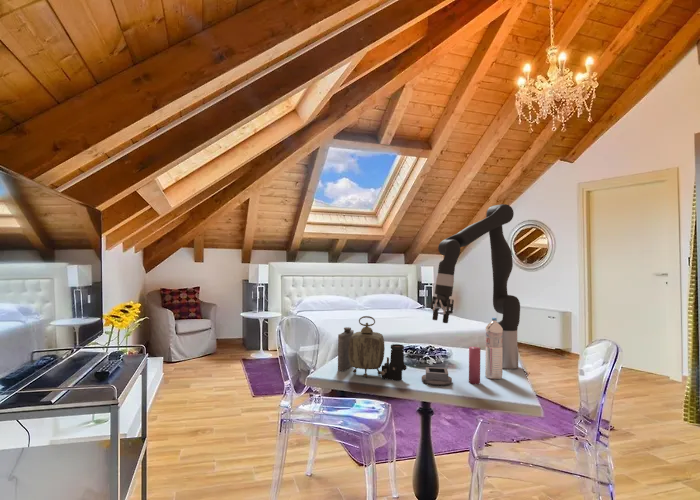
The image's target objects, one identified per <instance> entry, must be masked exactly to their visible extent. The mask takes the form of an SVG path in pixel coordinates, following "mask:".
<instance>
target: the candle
mask: <svg viewBox="0 0 700 500" xmlns="http://www.w3.org/2000/svg"><path fill="white" fill-rule="evenodd" d="M468 383H469V384H472V385H480V384H481V347H479V346H469V347H468Z"/></svg>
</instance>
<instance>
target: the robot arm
mask: <svg viewBox="0 0 700 500" xmlns="http://www.w3.org/2000/svg"><path fill="white" fill-rule="evenodd" d="M514 214H515V213H514V209H513V207H512V206H510V205H509V204H505V203H503V204H502V203H501V204H497V205H491V206H490V207H488V208H487V211H486V214H485V215H486V217H485V218H483V219H481V220H479V221H477V222H474V223H472V224H470V225H467V226H466V227H465V228H463V229H461V230H460V231H459V232H457V233H455V234H453V235H451V236H449V237H446V238H445V239H443V240H442V241H440V243H439V244H438V247H437V250H438V252H439V254H441V255H442V256H444V257H443V259H442V260H441V261H439V262H438V263H439V264H438V267H437V268H438V269H437V276H436V280H435V287H434V294H435V295H436V296H433V295H432V297H431V304H430V310H431V311H432V312H433V313H432V320H433V321H438V317H439V311H440V310H442V311H443V316H442V324H448V323H449V319H450V318H449V317H450V315H452V314H453V312H454V303H455V301H454V299H452V298H450V297H452V296H453V291H454V290H453V289H454V284H455V283H454V282H455V272H456V270H455V269H456V264H457V262H458V261H459V258H460V254H461V248H464V247H467V246H469V245H471V243H473V242H474V241H476V240H477V239H479V238H481V237H483V236H484V235H486V234H488V235H489V245H490V252H491V254H490V255H491V256H490V257H491V268H492V306H493V308H494V311H495V312H496V313H498V314H501V315H502V319H501V320H500V321H497V322H498V323H499V324H500V325H501V327H502V328H503V332H502V347H503V349H502V350H503V360H502V361H503V362H502V363H503V364H502V365H503V366H502V367H503V368H502V369H506V370H507V369H508V370H509V369H510V370H514V369H519V347H518V327H519V325H520V316H521V302H520V299H519V298H518V297H517V296H515V295H511V294H508V281H509V278H510V275H511V274H512V270H513V267H514V266H513V261H514V260H513V252H512V249H511V247H510V245H509V243H508V242H507V240H506V238H505V235H504V230H503V225H507V224H509V223H510V222H511V221H512V220H513V219H514Z"/></svg>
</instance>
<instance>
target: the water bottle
mask: <svg viewBox="0 0 700 500" xmlns="http://www.w3.org/2000/svg"><path fill="white" fill-rule="evenodd" d="M498 322H499V321H497V317H492V318H491V321H490V322H489V323H488V324H487V325H486V326H485V359H484V360H485V363H484V364H485V366H484V367H485V371H484V372H485V377H486V378H487V379H489V380H502V379H503V369H504V368H503V367H502V366H503V365H502V364H503V363H502V362H503V361H502V360H503V350H502V349H503V347H502V332H503V328H502V327H501V325H500V324H499V323H498Z"/></svg>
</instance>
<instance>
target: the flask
mask: <svg viewBox="0 0 700 500" xmlns="http://www.w3.org/2000/svg"><path fill="white" fill-rule="evenodd" d="M343 330H344V331H343V332H341V333H339V334H337V335H338V336H337V372H341V373H342V372H345V371H348V370H349V369H351V368H353V367H352V366H351V365H350V362H349V353H348V350H349V341H350V338H351V336H352V335H353V334H354V333H355V332H354V330H353V329H352V327H350V326H348V327H347V326H345V327H343Z"/></svg>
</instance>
